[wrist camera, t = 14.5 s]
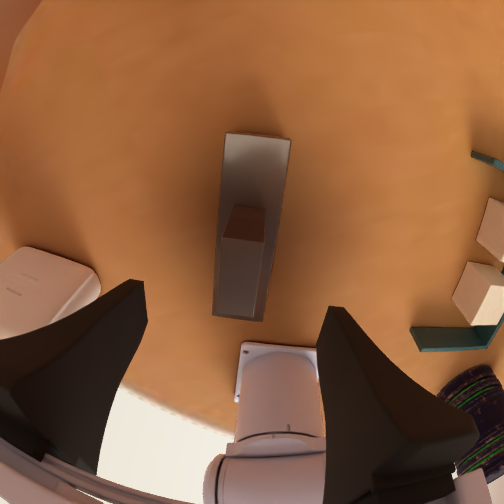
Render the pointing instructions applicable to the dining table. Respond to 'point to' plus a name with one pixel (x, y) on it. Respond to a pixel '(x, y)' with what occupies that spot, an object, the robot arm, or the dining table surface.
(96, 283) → the photo printer
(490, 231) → the cream white cube
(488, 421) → the storage jar
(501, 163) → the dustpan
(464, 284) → the beige cube
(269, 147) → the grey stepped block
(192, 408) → the dining table surface
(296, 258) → the dining table surface
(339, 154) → the dining table surface
